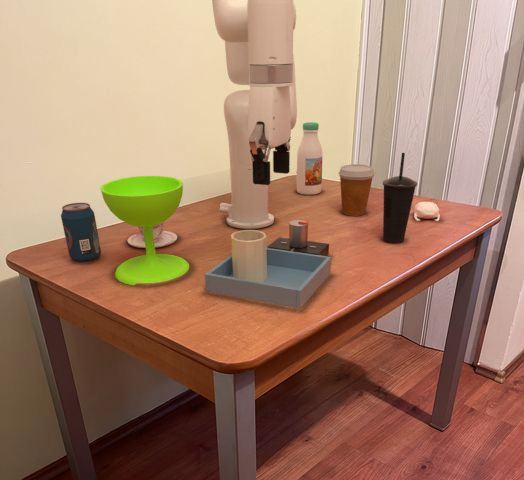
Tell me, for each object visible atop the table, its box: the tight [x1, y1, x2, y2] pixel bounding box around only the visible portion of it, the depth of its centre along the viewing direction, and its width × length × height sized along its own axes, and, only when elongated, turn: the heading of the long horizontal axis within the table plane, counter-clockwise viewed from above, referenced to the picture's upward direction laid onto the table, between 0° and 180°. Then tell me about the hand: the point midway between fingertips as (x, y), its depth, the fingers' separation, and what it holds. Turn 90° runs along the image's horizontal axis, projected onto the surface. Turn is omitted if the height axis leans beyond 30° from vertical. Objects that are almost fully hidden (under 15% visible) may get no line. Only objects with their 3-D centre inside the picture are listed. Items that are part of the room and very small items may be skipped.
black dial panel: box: [267, 236, 330, 256], centre depth 119 cm, size 12×8×3 cm
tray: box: [204, 248, 332, 309], centre depth 107 cm, size 20×18×4 cm
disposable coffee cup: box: [338, 163, 376, 217], centre depth 145 cm, size 10×10×12 cm
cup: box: [230, 229, 268, 282], centre depth 107 cm, size 7×7×9 cm
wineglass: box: [99, 175, 190, 286], centre depth 110 cm, size 16×16×18 cm
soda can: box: [60, 202, 102, 265], centre depth 118 cm, size 7×7×12 cm
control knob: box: [288, 219, 309, 248], centre depth 117 cm, size 4×4×5 cm
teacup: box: [126, 222, 178, 249], centre depth 130 cm, size 12×12×6 cm
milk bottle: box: [296, 121, 323, 196], centre depth 163 cm, size 8×8×20 cm
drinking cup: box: [382, 152, 418, 244], centre depth 124 cm, size 8×8×20 cm
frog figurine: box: [413, 201, 441, 222], centre depth 143 cm, size 8×7×4 cm
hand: (271, 178), depth 101 cm, fingers open, 9 cm apart
